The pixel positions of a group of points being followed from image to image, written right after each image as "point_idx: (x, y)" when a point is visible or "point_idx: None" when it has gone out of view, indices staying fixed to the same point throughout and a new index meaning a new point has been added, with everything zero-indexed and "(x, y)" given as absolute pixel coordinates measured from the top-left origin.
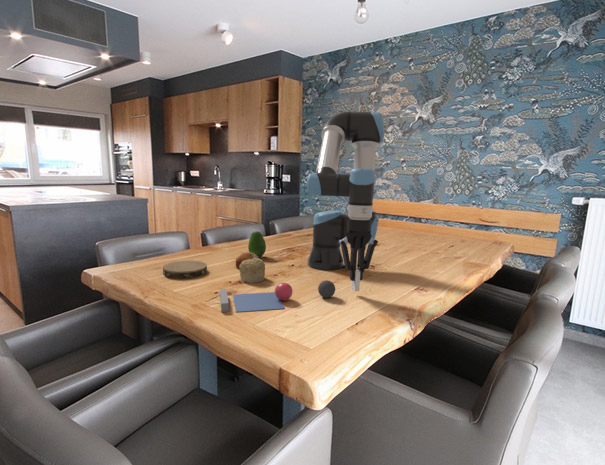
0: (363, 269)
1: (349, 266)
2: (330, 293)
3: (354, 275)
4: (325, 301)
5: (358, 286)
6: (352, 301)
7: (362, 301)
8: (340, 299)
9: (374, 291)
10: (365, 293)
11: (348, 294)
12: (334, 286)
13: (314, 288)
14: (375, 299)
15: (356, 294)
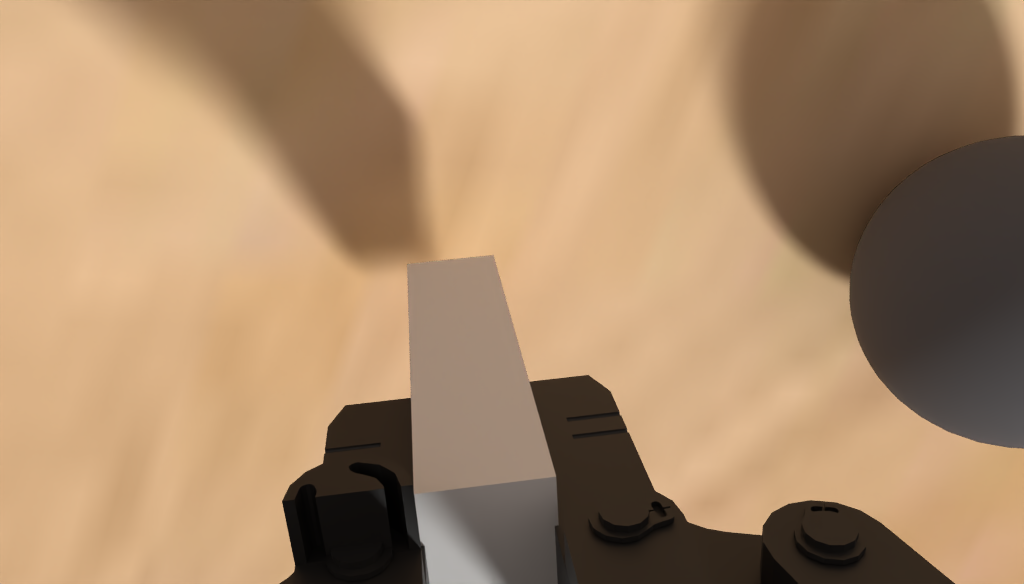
0: (301, 561)
1: (855, 578)
2: (1000, 138)
3: (556, 451)
4: (1018, 69)
5: (429, 299)
6: (590, 22)
7: (411, 2)
8: (753, 134)
9: (55, 446)
10: (241, 367)
11: (542, 337)
12: (949, 261)
13: None
14: (131, 77)
15: None
